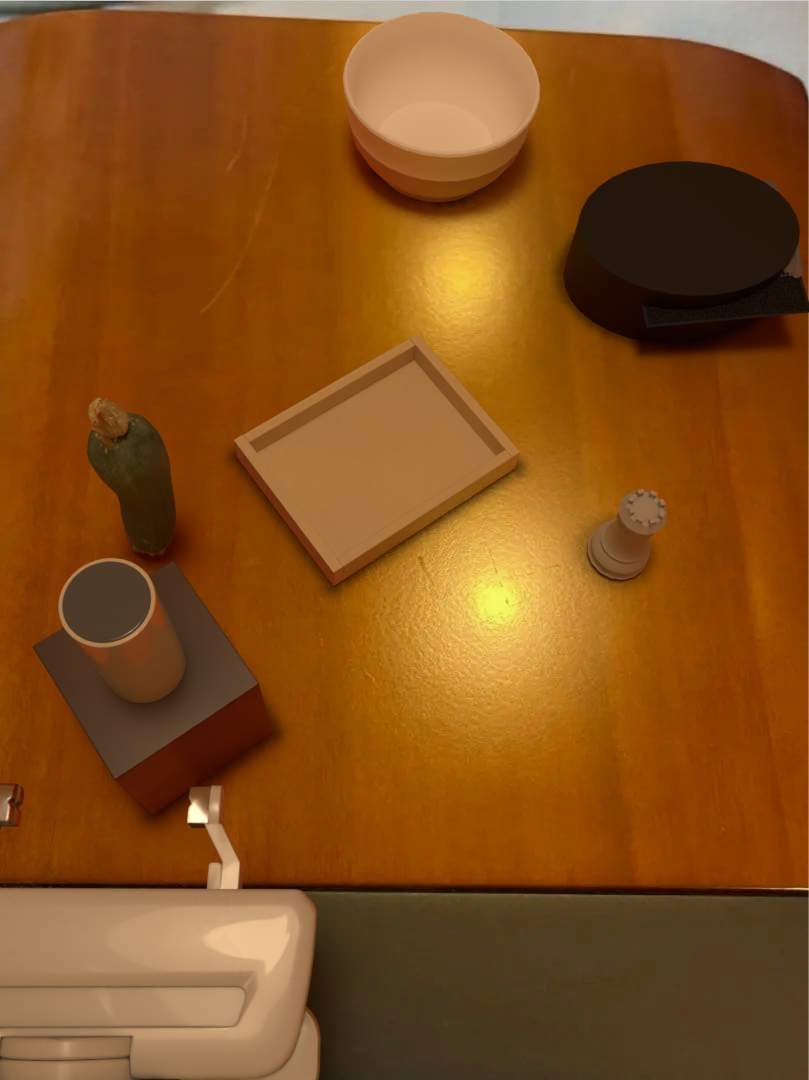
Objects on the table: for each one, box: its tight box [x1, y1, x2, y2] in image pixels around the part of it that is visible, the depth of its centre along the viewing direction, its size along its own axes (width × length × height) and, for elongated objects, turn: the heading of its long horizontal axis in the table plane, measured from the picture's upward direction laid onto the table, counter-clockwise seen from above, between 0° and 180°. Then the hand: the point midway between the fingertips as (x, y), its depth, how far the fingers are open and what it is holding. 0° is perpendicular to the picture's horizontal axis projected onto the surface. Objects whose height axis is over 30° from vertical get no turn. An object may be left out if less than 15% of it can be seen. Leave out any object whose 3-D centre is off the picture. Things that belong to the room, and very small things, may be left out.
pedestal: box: [32, 560, 273, 815], centre depth 60 cm, size 9×9×12 cm
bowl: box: [342, 11, 541, 203], centre depth 83 cm, size 16×16×8 cm
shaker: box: [57, 557, 186, 703], centre depth 50 cm, size 4×4×10 cm
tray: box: [233, 333, 521, 587], centre depth 73 cm, size 17×13×3 cm
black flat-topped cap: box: [563, 160, 809, 344], centre depth 80 cm, size 14×18×8 cm
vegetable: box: [86, 396, 177, 557], centre depth 61 cm, size 4×4×20 cm
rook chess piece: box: [587, 488, 668, 581], centre depth 69 cm, size 4×4×8 cm
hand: (106, 785), depth 47 cm, fingers open, 8 cm apart
